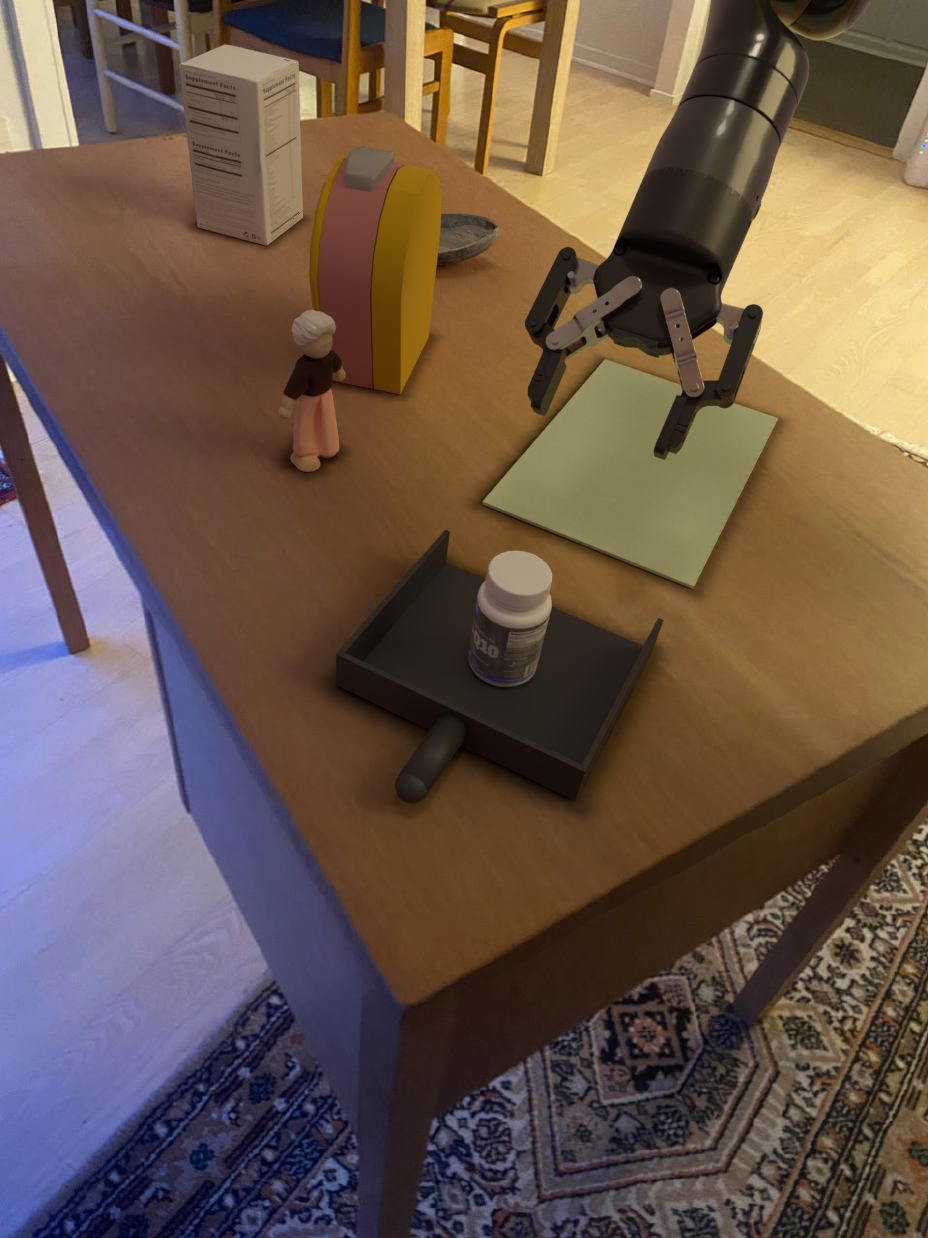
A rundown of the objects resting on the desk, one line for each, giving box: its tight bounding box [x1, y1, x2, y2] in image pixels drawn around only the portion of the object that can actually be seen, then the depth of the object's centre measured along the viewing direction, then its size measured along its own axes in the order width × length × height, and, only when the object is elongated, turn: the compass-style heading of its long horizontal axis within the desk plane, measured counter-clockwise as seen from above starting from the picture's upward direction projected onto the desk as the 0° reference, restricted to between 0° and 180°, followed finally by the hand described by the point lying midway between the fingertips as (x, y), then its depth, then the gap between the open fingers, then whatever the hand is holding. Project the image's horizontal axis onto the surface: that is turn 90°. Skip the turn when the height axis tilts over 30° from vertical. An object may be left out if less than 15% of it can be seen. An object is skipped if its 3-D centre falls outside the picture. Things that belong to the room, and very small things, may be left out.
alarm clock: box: [308, 146, 443, 395], centre depth 81 cm, size 15×8×18 cm, turn 168°
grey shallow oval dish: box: [437, 213, 502, 265], centre depth 102 cm, size 15×12×5 cm
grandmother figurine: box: [277, 309, 346, 473], centre depth 71 cm, size 8×4×13 cm, turn 160°
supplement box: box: [178, 44, 304, 247], centre depth 99 cm, size 10×9×17 cm
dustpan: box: [335, 529, 665, 805], centre depth 57 cm, size 20×17×3 cm
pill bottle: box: [468, 550, 553, 687], centre depth 57 cm, size 5×5×8 cm
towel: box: [481, 358, 779, 590], centre depth 79 cm, size 28×18×1 cm, turn 153°
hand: (597, 433), depth 58 cm, fingers open, 8 cm apart
